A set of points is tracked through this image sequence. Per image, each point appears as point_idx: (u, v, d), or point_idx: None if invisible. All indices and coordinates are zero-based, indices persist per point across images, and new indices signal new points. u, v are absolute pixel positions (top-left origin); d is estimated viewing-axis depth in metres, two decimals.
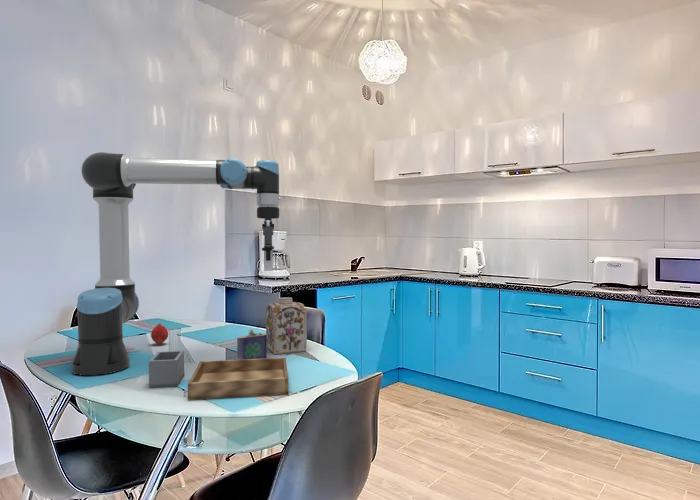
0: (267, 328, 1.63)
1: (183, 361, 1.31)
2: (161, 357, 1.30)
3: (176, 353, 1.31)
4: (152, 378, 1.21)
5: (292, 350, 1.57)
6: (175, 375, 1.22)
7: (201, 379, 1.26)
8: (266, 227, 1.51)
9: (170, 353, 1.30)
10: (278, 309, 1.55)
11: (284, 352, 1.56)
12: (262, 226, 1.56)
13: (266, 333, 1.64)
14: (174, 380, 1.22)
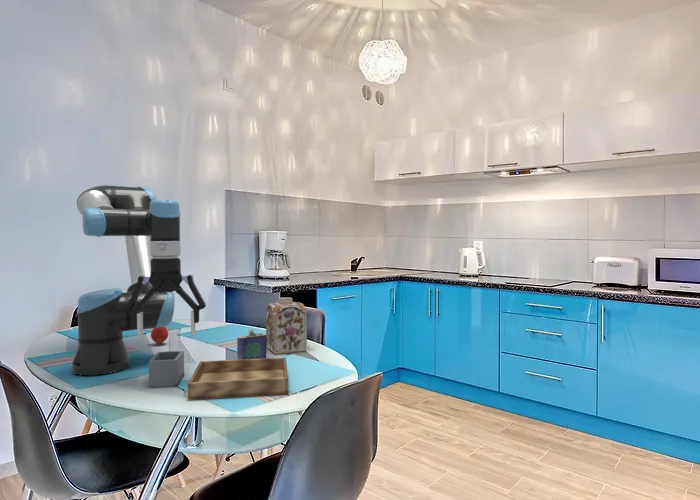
0: (267, 328, 1.63)
1: (183, 361, 1.31)
2: (161, 357, 1.30)
3: (176, 353, 1.31)
4: (152, 378, 1.21)
5: (292, 350, 1.57)
6: (175, 375, 1.22)
7: (201, 379, 1.26)
8: None
9: (170, 353, 1.30)
10: (278, 309, 1.55)
11: (284, 352, 1.56)
12: None
13: (266, 333, 1.64)
14: (174, 380, 1.22)
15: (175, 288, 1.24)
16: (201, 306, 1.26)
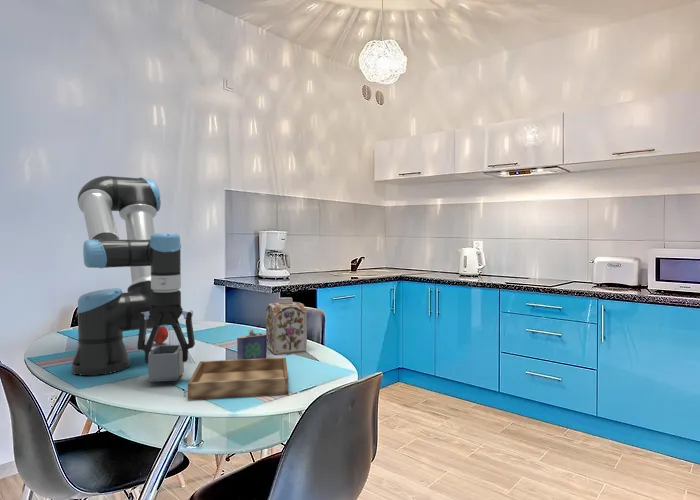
0: (267, 328, 1.63)
1: None
2: (161, 351, 1.30)
3: (176, 347, 1.31)
4: (152, 372, 1.22)
5: (292, 350, 1.57)
6: (175, 369, 1.22)
7: (201, 379, 1.26)
8: None
9: (170, 347, 1.31)
10: (278, 309, 1.55)
11: (284, 352, 1.56)
12: None
13: (266, 333, 1.64)
14: (173, 373, 1.22)
15: (172, 323, 1.25)
16: (190, 345, 1.26)
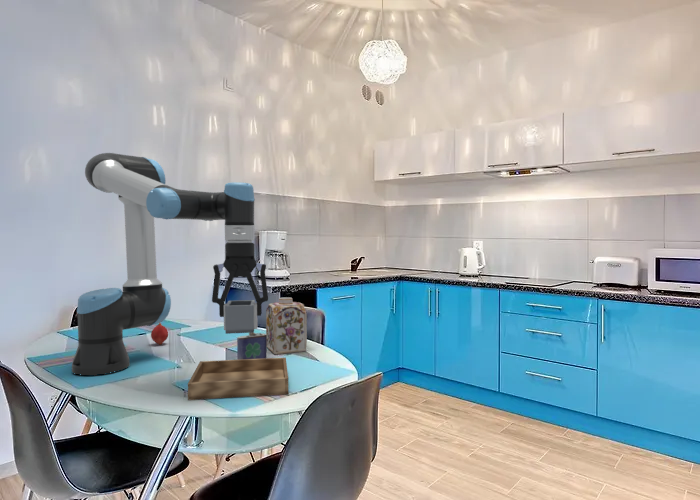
0: (267, 328, 1.63)
1: None
2: None
3: (247, 302, 1.28)
4: (228, 323, 1.18)
5: (292, 350, 1.57)
6: (251, 321, 1.19)
7: (201, 379, 1.26)
8: None
9: (241, 302, 1.27)
10: (278, 309, 1.55)
11: (284, 352, 1.56)
12: None
13: (266, 333, 1.64)
14: (250, 325, 1.19)
15: (247, 275, 1.22)
16: (264, 298, 1.23)
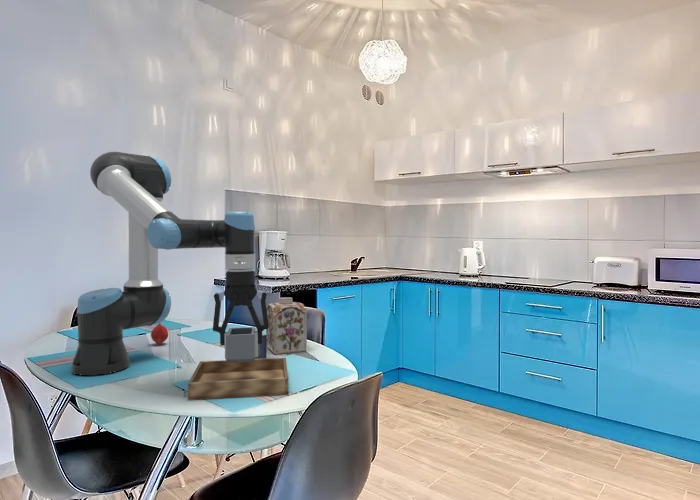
0: None
1: None
2: (233, 333, 1.27)
3: (248, 329, 1.28)
4: (229, 353, 1.18)
5: (292, 350, 1.57)
6: (252, 350, 1.19)
7: (201, 379, 1.26)
8: None
9: (242, 329, 1.28)
10: (278, 309, 1.55)
11: (284, 352, 1.56)
12: None
13: (266, 333, 1.64)
14: (251, 354, 1.19)
15: (248, 303, 1.22)
16: (265, 326, 1.23)
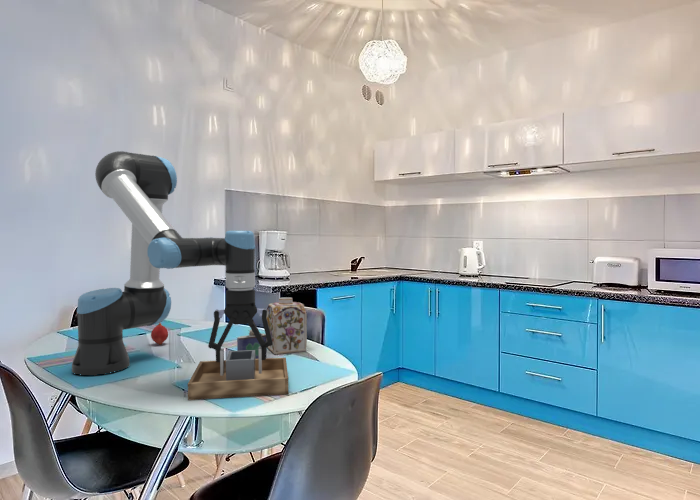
0: None
1: None
2: (233, 356, 1.28)
3: (248, 352, 1.28)
4: (229, 378, 1.19)
5: (292, 350, 1.57)
6: (252, 375, 1.19)
7: (201, 379, 1.26)
8: None
9: (242, 352, 1.28)
10: (278, 309, 1.55)
11: (284, 352, 1.56)
12: None
13: None
14: None
15: (249, 321, 1.22)
16: (269, 343, 1.24)
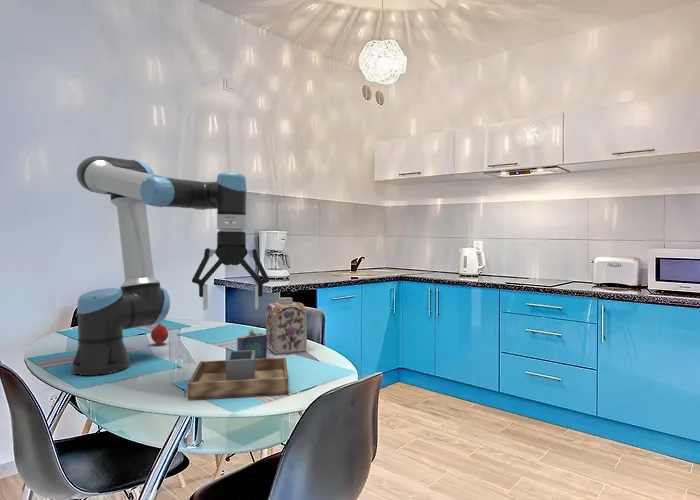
0: (267, 328, 1.63)
1: None
2: (233, 356, 1.28)
3: (248, 352, 1.28)
4: (229, 378, 1.19)
5: (292, 350, 1.57)
6: (252, 375, 1.19)
7: (201, 379, 1.26)
8: None
9: (242, 352, 1.28)
10: (278, 309, 1.55)
11: (284, 352, 1.56)
12: None
13: (266, 333, 1.64)
14: None
15: (241, 261, 1.25)
16: (265, 280, 1.27)
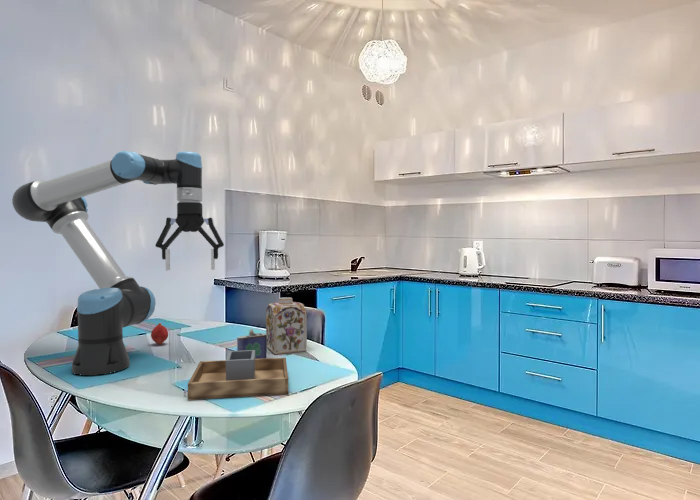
0: (267, 328, 1.63)
1: None
2: (233, 356, 1.28)
3: (248, 352, 1.28)
4: (229, 378, 1.19)
5: (292, 350, 1.57)
6: (252, 375, 1.19)
7: (201, 379, 1.26)
8: None
9: (242, 352, 1.28)
10: (278, 309, 1.55)
11: (284, 352, 1.56)
12: None
13: (266, 333, 1.64)
14: None
15: (198, 228, 1.45)
16: (220, 244, 1.47)
